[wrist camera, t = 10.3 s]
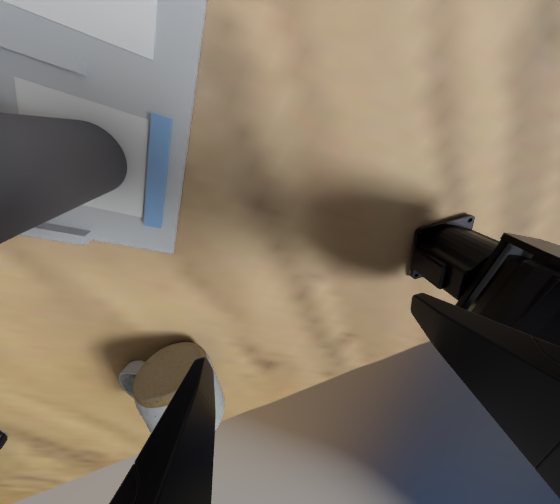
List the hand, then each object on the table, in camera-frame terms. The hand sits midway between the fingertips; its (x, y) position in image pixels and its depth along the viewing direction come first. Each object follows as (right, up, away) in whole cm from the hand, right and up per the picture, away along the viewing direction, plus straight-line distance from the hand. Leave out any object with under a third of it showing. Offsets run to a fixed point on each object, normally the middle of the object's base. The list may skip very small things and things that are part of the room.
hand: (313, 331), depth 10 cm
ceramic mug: (-14, -10, +18) cm, 25 cm away
